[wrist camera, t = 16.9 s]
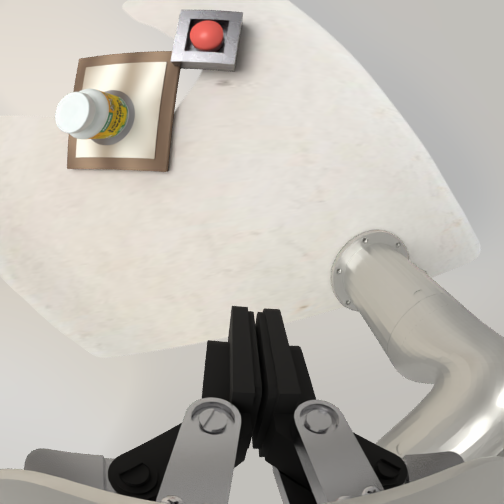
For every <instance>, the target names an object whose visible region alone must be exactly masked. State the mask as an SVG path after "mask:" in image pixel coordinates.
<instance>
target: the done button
mask: <svg viewBox="0 0 504 504" xmlns="http://www.w3.org/2000/svg"><path fill="white" fill-rule="evenodd" d="M190 39H191V41H192V43H193V46H194V48H195V49H196V50H197V51H199V52H216V51H217V50H219V49H220V48H221V47H222V45H223V42H224V36H223V29H222V27H221V26H220V25H219V24H218V23H217V22H215V21H210V20H206V21H201V22H199V23H197V24H196V25H195V26H194V27H193V28H192V29H191V31H190Z"/></svg>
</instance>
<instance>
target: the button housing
mask: <svg viewBox="0 0 504 504" xmlns="http://www.w3.org/2000/svg"><path fill="white" fill-rule="evenodd" d="M242 19H243V12H232V11H216V10H181V13H180V17H179V22H178V26H177V31H176V36H175V41H174V46H173V51H172V56H171V62H172V64H173V65H174V66H179V67H180V68H184V69H207V70H221V71H232V72H234V70H235V64H236V58H237V51H238V45H239V39H240V33H241V27H242ZM206 20H210V21H215V22H217V23H218V24H219V25H220V26H221V27H222V29H223V36H224V42H223V45H222V47H221V48H220V49H219V50H217V51H216V52H199V51H197V50H196V49H195V48H194V46H193V43H192V41H191V39H190V31H191V29H192V28H193V27H194V26H195V25H196V24H197V23H199V22H201V21H206Z"/></svg>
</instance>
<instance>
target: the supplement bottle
mask: <svg viewBox="0 0 504 504" xmlns="http://www.w3.org/2000/svg"><path fill="white" fill-rule="evenodd" d="M55 119H56V124H57V126H58V127H59V129H60V130H61V131H63V132H65V133H69V134H70V135H71V136H73V137H74V138H77V139H104V138H112V137H115V136H116V135H118V134H119V133H121V132H122V130H123V129H124V128H125V127H126V125H127V122H128V119H129V109H128V107H127V105H126V103H125V101H124V100H123V99H121V98H120V97H118V96H115V95H112V94H109V93H106V92H103V91H100V90H96V89H84V90H81V91H79V92H72V93H69V94H67V95H66V96H65V97H64V98H63V99H62V100H61V101H60V103H59V104H58V106H57V109H56V114H55Z"/></svg>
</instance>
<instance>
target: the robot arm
mask: <svg viewBox="0 0 504 504" xmlns="http://www.w3.org/2000/svg"><path fill="white" fill-rule="evenodd" d="M363 239H364V240H363ZM331 285H332V289H333V292H334V294H335V295H336V297H337V299H338V300H339V301H340V303H341V304H342V305H344V306H345V307H347V308H349V309H351V310H355V311H359V312H360V314H361V315H362V317H363V318H364V320H365V321H366V323H367V324H368V326H369V327H370V329H371V331H372V332H373V333H374V335H375V336H376V338H377V340H378V341H379V343H380V345H381V346H382V348H383V349H384V351H385V353H386V354H387V356H388V357H389V359H390V361H391V363H392V364H393V366H394V367H395V369H396V370H397V371H398V372H399V373H400V374H401V375H402V376H404V377H405V378H407V379H409V380H412V381H415V382H419V383H427V384H434V387H433V388H432V390H431V391H430V392H429V394H427V396H426V397H425V398H424V399H423V400H422V401H421V402H420V403H419V404H418V405H417V406H416V407H415V408H414V409H413V410H412V411H411V412H410V413H409V414H408V415H407V416H406V417H405V418H403V419H402V420H401V421H400V422H399V423H398V424H397V425H395V426H394V427H393V428H392V429H391V430H390V431H389V432H388V433H387V434H385V435H384V436H383V437H382V438H381V439H380V440H379V441H378V442H377V443H376V444H374V443H372V442H370V441H368V440H366V439H364V438H363V437H361V436H359V435H357V434H355V433H353V432H352V430H351V428H350V427H349V425H348V423H347V421H346V419H345V417H344V415H343V414H342V412H341V411H340V410H339V408H337V407H336V406H335V405H333V404H331V403H329V402H326V401H322V400H316V397H315V394H314V391H313V387H312V384H311V380H310V377H309V374H308V370H307V367H306V364H305V360H304V357H303V353H302V350H301V348H300V347H299V346H289V343H288V339H287V335H286V332H285V328H284V324H283V320H282V316H281V312H280V310H279V309H264V310H263V312H258V313H257V318H256V324H255V321H254V312H251V311H248V307H239V306H232V310H231V319H230V328H229V337H228V342H219V341H210V340H208V342H207V351H206V360H205V371H204V380H203V391H202V399H200V400H197V401H195V402H194V403H192V404H191V405H190V406H189V407H188V409H187V411H186V413H185V416H184V419H183V422H182V423H181V424H179V425H177V426H175V427H174V428H172V429H170V430H168V431H166V432H165V433H163V434H161V435H159V436H157V437H155V438H154V439H152V440H150V441H148V442H146V443H144V444H142V445H140V446H138V447H136V448H134V449H132V450H130V451H128V452H126V453H124V454H122V455H120V456H118V457H117V458H115V459H109V458H104V457H103V456H102V455H90V454H79V453H71V452H63V451H57V450H51V449H36V450H33V451H32V452H31V453H30V454H29V455H28V456H27V458H26V461H25V467H24V470H22V469H0V504H228V499H229V493H230V487H231V482H232V475H233V469H234V468H235V467H236V466H238V465H239V464H240V463H241V462H243V461H244V460H245V456H246V452H247V448H249V445H250V441H251V437H252V443H253V448H254V449H259V457H265V460H266V461H267V462H268V463H270V464H271V465H273V473H274V476H275V479H276V483H277V485H278V489H279V492H280V495H281V498H282V501H283V504H504V337H502V336H501V335H499V334H498V333H496V332H495V331H494V330H492V329H491V328H489V327H488V326H487V325H486V324H484V323H483V322H481V321H480V320H479V319H478V318H477V317H476V316H474V315H473V314H472V313H471V312H470V311H469V310H467V309H466V308H465V307H464V306H463V305H461V304H460V303H459V302H458V301H457V300H456V299H455V298H454V297H453V296H451V295H450V294H449V293H448V292H447V291H446V290H444V289H443V288H442V287H441V286H440V285H439V284H437V283H436V282H435V281H434V280H433V279H432V278H430V277H429V276H428V275H427V273H426V271H423V270H421V269H419V268H418V267H417V266H416V265H415V264H413V263H412V262H411V261H410V260H409V254H408V251H407V249H406V247H405V245H404V244H403V242H402V241H401V240H400V239H399V238H398V237H396V236H395V235H393V234H392V233H389V232H387V231H382V230H372V231H368V232H364V233H362V234H360V235H358V236H356V237H354V238H353V239H352V240H350V241H349V242H348V243H347V244H346V245H345V246H344V247H343V248H342V249H341V251H340V252H339V254H338V255H337V257H336V259H335V261H334V264H333V267H332V272H331Z"/></svg>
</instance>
